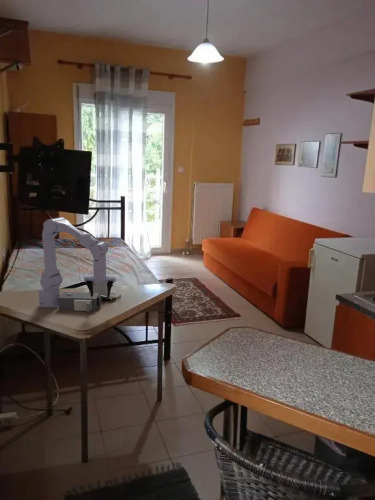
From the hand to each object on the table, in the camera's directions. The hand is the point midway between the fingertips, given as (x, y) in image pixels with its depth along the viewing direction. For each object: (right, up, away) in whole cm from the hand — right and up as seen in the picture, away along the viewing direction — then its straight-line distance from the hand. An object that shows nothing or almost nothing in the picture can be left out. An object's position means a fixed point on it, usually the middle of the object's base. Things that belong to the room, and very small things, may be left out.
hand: (100, 296), depth 190 cm
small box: (-5, -3, +26) cm, 26 cm away
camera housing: (-12, -6, +9) cm, 17 cm away
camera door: (-9, -7, +3) cm, 12 cm away
